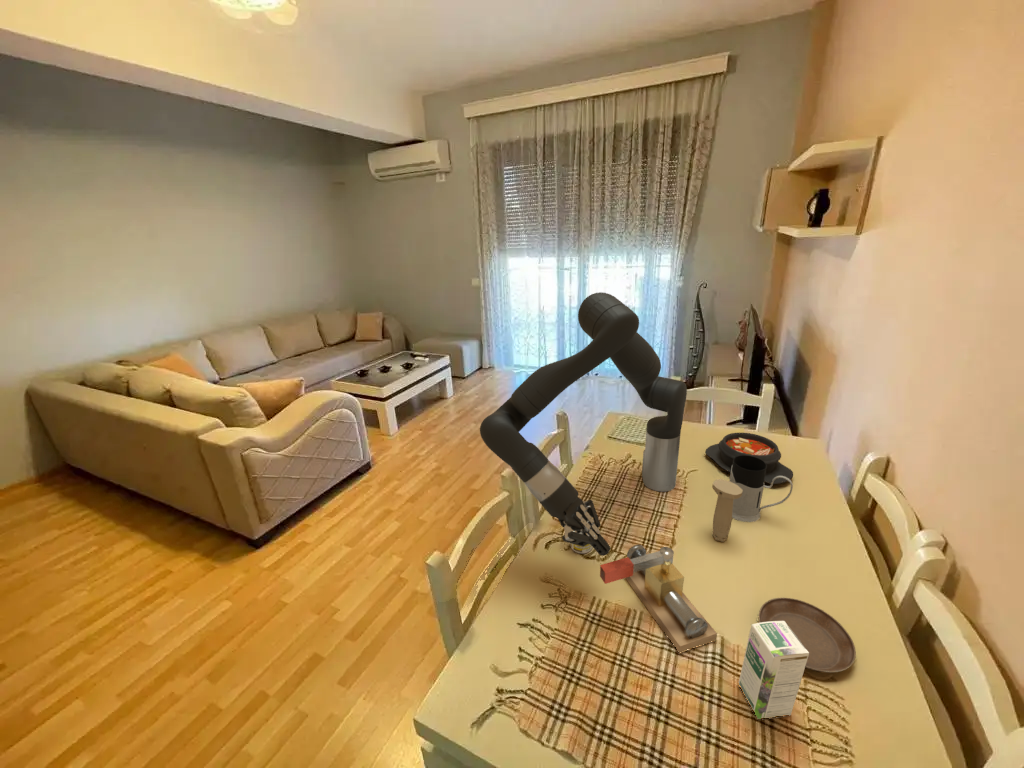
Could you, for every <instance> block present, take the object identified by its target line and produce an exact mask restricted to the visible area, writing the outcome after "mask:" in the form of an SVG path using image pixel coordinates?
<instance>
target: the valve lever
mask: <svg viewBox="0 0 1024 768" xmlns="http://www.w3.org/2000/svg"><path fill="white" fill-rule="evenodd" d="M674 555H675V554H674V550H673V549H672V548H671V547H668V546H662V547H660V549H659V550H658V551H655V552H651V553H650V554H647V555H644V556H640V557H637V558H633V559H629V558H628V557H627V556H626V557H624V558H620V559H617V560H613V561H609V562H606V563H603V564H599V567H600V568H599V569H600V570H599V577H600V578H601V580H602V582H603V583H604V584H606V585H607V584H610V583H613V582H616V581H619V580H623V579H626V578H627V577H630V576H633V573H634V572H637V571H640V570H644V569H647V568H651V567H654V566H657V565H661V564H664V565H671V564H673V563H674Z"/></svg>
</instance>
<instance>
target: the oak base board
mask: <svg viewBox="0 0 1024 768" xmlns="http://www.w3.org/2000/svg"><path fill="white" fill-rule="evenodd" d="M647 554H651V553H650V552H649V551H648V552H647V551H646V555H647ZM625 580H626V581H627V582H628V583H629V585H630V586H631V588H632V590H633V591H634V592H635V594H636V595H637V597H638V598H639V599H640V601H641V603H643V605H644V606H645V608H646V610H647V611H648V612H649V614H650V615H651V616H652V618H653V619H654V621H655V620H656V621H655V623H656V624H657V625H658V624H659V625H658V626H659V628H660V627H661V628H660V630H663V631H664V632H665V633H664V632H663V631H662V632H663V633H664V635H665V634H666V635H667V636H668V638H669V639H670V640H671V642H672V643H673V644H674V646H675V647H676V649H677V650H678V651H679V653H680V652H682V651H684V650H687V649H690V648H693V647H696V646H699V645H703V644H706V643H709V642H711V641H714V640H716V641H717V635H718V632H716V631H715V630H716V629H714V628H713V627H712V625H711V624H710V623H709V622H708V620H707V619H706V618H705V617H704V616H703V615H702V613H700V612H701V611H699V610H698V609H697V607H696V606H695V605H694V604H693V602H692V601H690V599H689V598H688V597H687V595H686V594H685V593H684V592H683V591H682V599H683V600H684V601H685V602H686V604H687V605H688V606H689V607H690V609H691V610H692V611H693V612H694V613H695V615H696V616H697V617H698V618H702V619H704V621H705V622H706V623H707V625H708V628H707V630H706V632H705V633H704V635H701V636H699V637H697V638H692V639H688V637H687V636H686V635H685V633H684V630H685V628H684V627H683V625H682V624H681V623H680V622H679V620H678V619H677V618H676V616H675V615H674V614H673V612H672V611H671V610H670V608H669V607H668V606H667V605H664V606H661V607H659V606H658V605H657V603H656V602H655V601H654V599H653V598H652V597H651V595H650V594H649V592H648V591H647V590H646V588H645V576H644V574H643V573H642V572H641V571H637V572H634V573H633V576H630V577H627V578H625ZM666 635H665V636H666ZM667 636H666V637H667ZM668 638H667V639H668ZM669 639H668V640H669ZM670 640H669V641H670ZM671 642H670V643H671ZM714 642H715V641H714ZM672 643H671V644H672ZM709 644H710V643H709ZM706 645H707V644H706ZM674 646H673V647H674ZM703 646H704V645H703ZM676 649H675V650H676ZM677 650H676V651H677ZM679 653H678V654H679Z"/></svg>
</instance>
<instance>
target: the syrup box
mask: <svg viewBox="0 0 1024 768" xmlns="http://www.w3.org/2000/svg"><path fill="white" fill-rule="evenodd" d="M750 625H751V626H750V629H749V634H748V639H747V643H746V647H745V653H744V658H743V661H742V666H741V671H740V675H739V679H738V683H739V685H740V686H741V688H742V690H743V692H744V694H745V696H746V698H747V699H748V701H749V703H750V705H751V707H752V709H753V710H754V712H755V714H754V716H755V715H756V716H757V718H758V719H761V718H769V717H775V716H783V715H789V716H791V715H792V712H793V709H794V706H795V702H796V699H797V696H798V692H799V689H800V686H801V681H802V679H803V675H804V672H805V666H806V662H807V659H808V656H809V652H808V651H807V650H806V649H805V648H804V646H803V645H802V643H801V642H800V641H799V639H798V638H797V636H796V635H795V634H794V633H793V631H792V630H791V629H790V627H789V626H788V625H787V624H786V622H785V621H769V622H761V623H760V622H757V623H752V624H750ZM746 698H745V699H746ZM751 707H750V708H751ZM752 709H751V710H752ZM756 716H755V717H756ZM783 717H784V716H783ZM757 718H756V719H757ZM758 719H757V720H758ZM769 719H770V718H769Z"/></svg>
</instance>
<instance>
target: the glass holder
mask: <svg viewBox="0 0 1024 768" xmlns="http://www.w3.org/2000/svg"><path fill="white" fill-rule="evenodd" d="M766 468H767V465H766V463H765V462H764V461H762V460H761V459H759V458H756V457H753V456H748V455H740V456H737V457H735V458H734V459H733V465H732V467H731V473H730V475H729V480H728V481H730V482H732V483H734V484H736V485H738V486H739V487H740V488H741V489H742V490H743V491H742V496H741V497H740V498H738V499H734V500H733V510H732V519H734V520H736V521H738V522H743V523H754V522H757V521H758V520H760V518H761V511H762V510H763V509H766V508H771V507H775V506H777V505H780V504H781V505H782V503H784V502H786V501H787V500H788V498H789V497H790V496H791V494H792V491H793V487H794V486H793V485H794V484H793V482H792V479H789V478H787V477H785V476H776V477H775V478H774V479H773V480H772V482H771V484H770V485H765V482H764V479H765V473H766ZM777 478H784V479H786V480H788V481H787V482H789V484H790V490H789V492H788V493H787V495H786V496H785V497H784V498H783V499H781V500H780V501H778V502H774V503H771V504H767V505H764V506H761V505H762V499H763V498H762V497H763V493H764V488H765V489H771V488H773V485H774V484H773V482H774V480H775V479H777Z"/></svg>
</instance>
